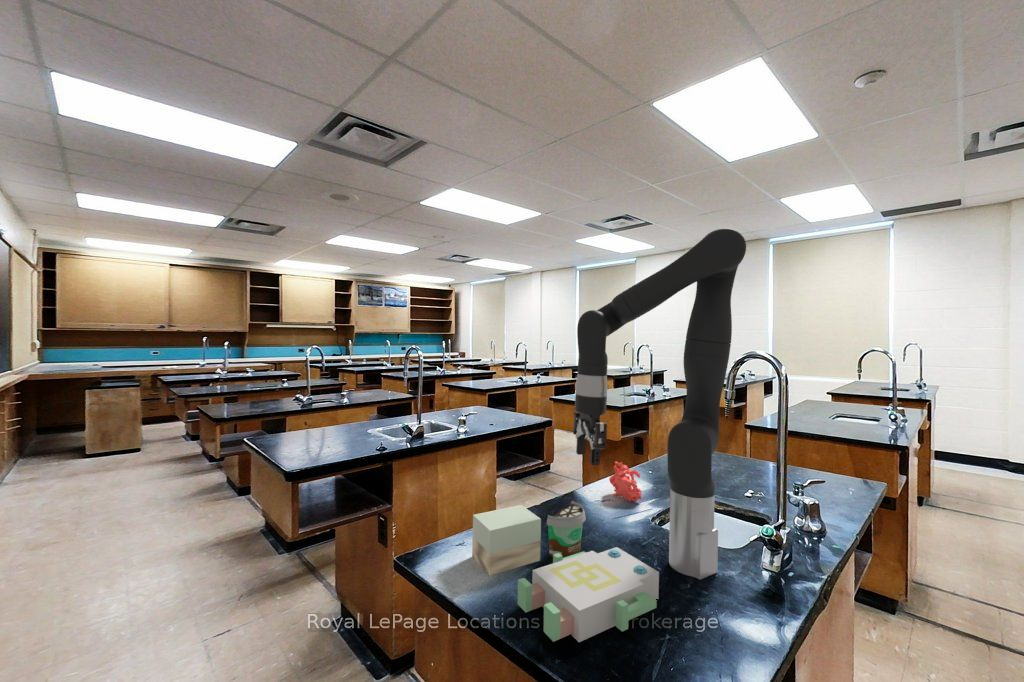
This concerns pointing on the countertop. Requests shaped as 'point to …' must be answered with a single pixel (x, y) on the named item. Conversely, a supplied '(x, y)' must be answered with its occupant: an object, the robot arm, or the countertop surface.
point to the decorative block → (590, 592)
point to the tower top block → (506, 528)
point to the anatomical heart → (625, 483)
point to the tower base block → (505, 557)
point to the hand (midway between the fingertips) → (587, 459)
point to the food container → (566, 530)
